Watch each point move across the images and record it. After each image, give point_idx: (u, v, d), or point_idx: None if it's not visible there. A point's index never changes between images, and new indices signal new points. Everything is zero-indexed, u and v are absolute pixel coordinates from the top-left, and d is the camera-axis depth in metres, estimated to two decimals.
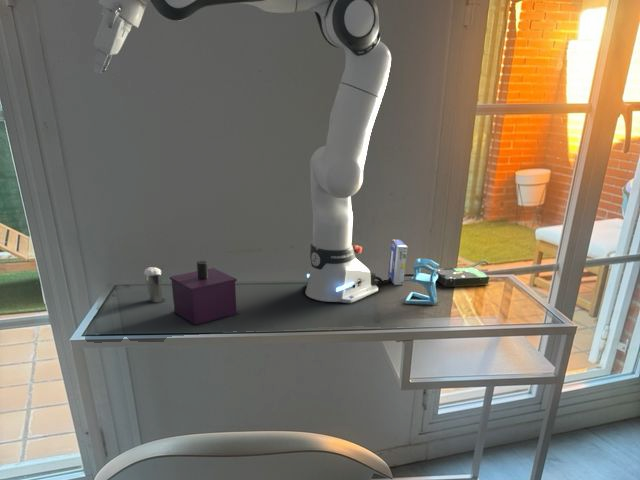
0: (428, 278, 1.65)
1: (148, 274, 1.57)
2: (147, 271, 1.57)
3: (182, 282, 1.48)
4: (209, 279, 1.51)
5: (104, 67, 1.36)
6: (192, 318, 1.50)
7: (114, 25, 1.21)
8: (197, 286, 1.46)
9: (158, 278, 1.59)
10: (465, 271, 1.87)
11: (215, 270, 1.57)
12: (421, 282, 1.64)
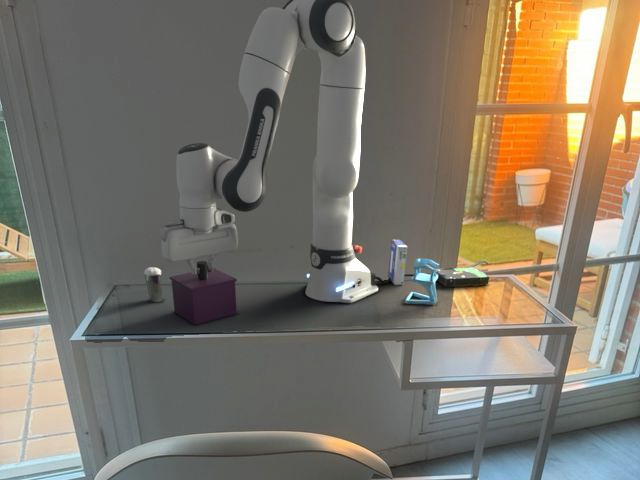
0: (428, 278, 1.65)
1: (148, 274, 1.57)
2: (147, 271, 1.57)
3: (182, 282, 1.48)
4: (209, 279, 1.51)
5: None
6: (192, 318, 1.50)
7: (166, 238, 1.40)
8: (197, 286, 1.46)
9: (158, 278, 1.59)
10: (465, 271, 1.87)
11: (215, 270, 1.57)
12: (421, 282, 1.64)
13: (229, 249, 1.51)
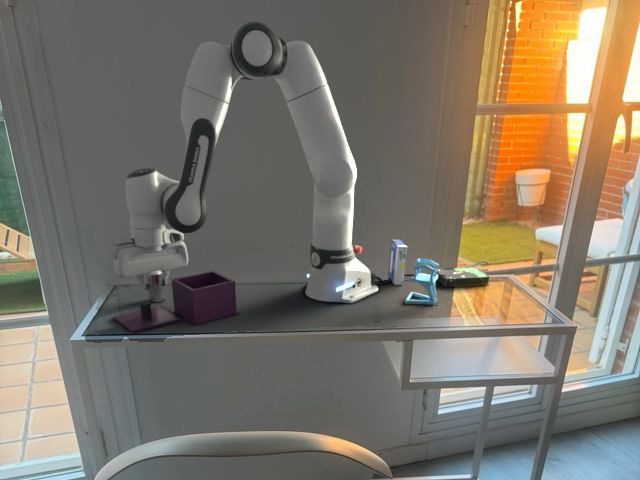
0: (428, 278, 1.65)
1: (149, 273, 1.57)
2: None
3: (124, 323, 1.48)
4: (152, 319, 1.50)
5: None
6: (192, 318, 1.50)
7: (117, 256, 1.50)
8: (138, 327, 1.46)
9: (159, 278, 1.59)
10: (465, 271, 1.87)
11: (161, 308, 1.57)
12: (421, 282, 1.64)
13: (179, 265, 1.62)
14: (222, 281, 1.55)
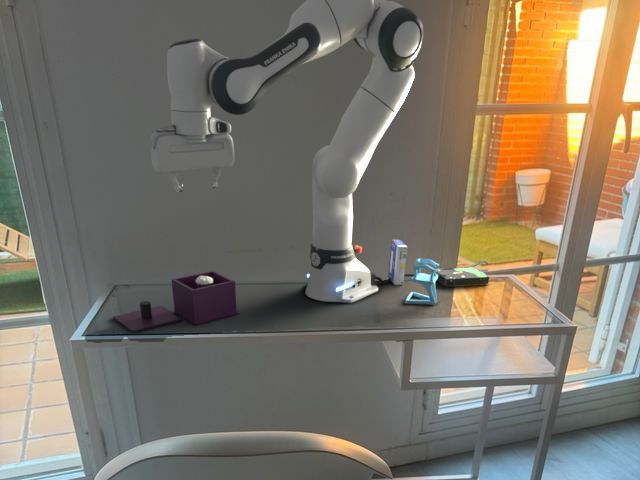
0: (428, 278, 1.65)
1: (200, 283, 1.50)
2: (199, 280, 1.50)
3: (124, 323, 1.48)
4: (152, 319, 1.50)
5: (211, 183, 1.41)
6: (192, 318, 1.50)
7: (156, 145, 1.29)
8: (138, 327, 1.46)
9: None
10: (465, 271, 1.87)
11: (161, 308, 1.57)
12: (421, 282, 1.64)
13: (225, 164, 1.40)
14: (222, 281, 1.55)
